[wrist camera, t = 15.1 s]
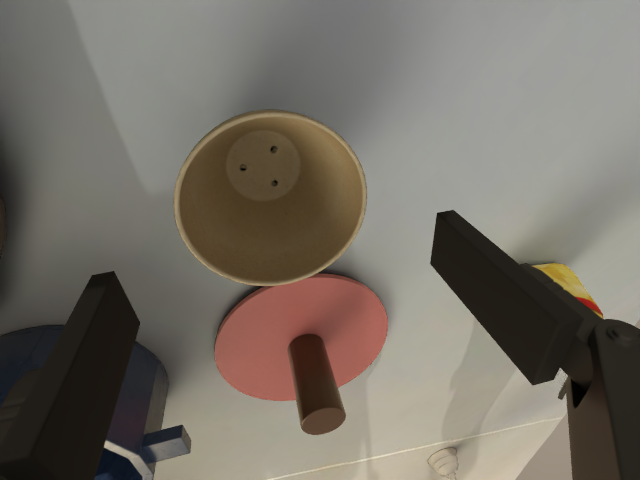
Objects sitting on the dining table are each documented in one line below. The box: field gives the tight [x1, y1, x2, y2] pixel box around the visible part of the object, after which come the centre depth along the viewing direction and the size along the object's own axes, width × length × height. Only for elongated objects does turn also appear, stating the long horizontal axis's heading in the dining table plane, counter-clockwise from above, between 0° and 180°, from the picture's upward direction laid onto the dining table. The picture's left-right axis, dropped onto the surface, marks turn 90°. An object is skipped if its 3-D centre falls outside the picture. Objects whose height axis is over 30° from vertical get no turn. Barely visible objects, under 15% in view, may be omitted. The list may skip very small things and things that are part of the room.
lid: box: [214, 273, 388, 435], centre depth 30 cm, size 17×17×9 cm
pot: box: [0, 326, 191, 480], centre depth 27 cm, size 16×21×8 cm
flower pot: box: [173, 110, 367, 286], centre depth 21 cm, size 10×10×7 cm
